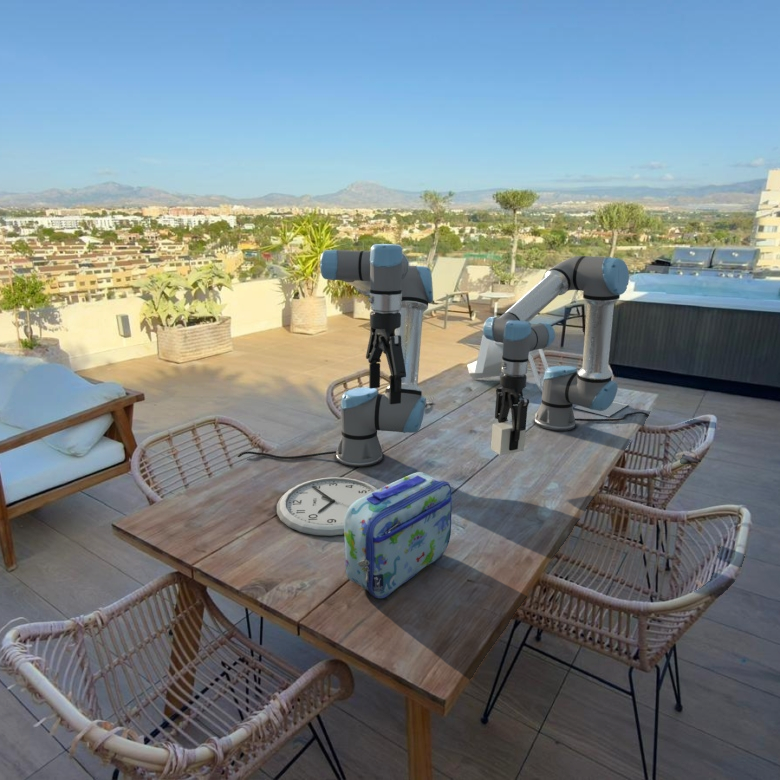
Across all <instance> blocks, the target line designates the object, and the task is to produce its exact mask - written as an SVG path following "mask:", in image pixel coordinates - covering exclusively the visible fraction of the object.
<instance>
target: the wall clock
mask: <svg viewBox="0 0 780 780" xmlns="http://www.w3.org/2000/svg"><path fill="white" fill-rule="evenodd" d="M378 489H379V488H377V487H376V486H374V485H372V484H371V483H369V482H365V481H362V480H359V479H355V478H349V477H338V476H337V477H335V476H333V477H332V476H331V477H322V478H317V479H312V480H307V481H305V482H302V483H299V484H297V485H295V486H293V487H292V488H290V489H288V490H287V491H286V492H285V493H284V494H283V495H281V496H280V498H279V499H278V502H277V503H276V515H277V517H278V518H279V520H280V521H281V522H282V523H283V524H285V525H286V526H287V527H288V528H290V529H293V530H295V531H297V532H299V533H303V534H308V535H312V536H327V537H328V536H329V537H331V536H332V537H333V536H342V535H343V536H344V520H345V516H346V513H347V511H348V509H349V507H350V506H351V505H352V504H353V503H354V502H355V501H356V500H358V499H360V498H362V497H364V496H366V495H368V494H370V493H372V492H374V491H376V490H378Z"/></svg>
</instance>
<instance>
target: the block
mask: <svg viewBox="0 0 780 780" xmlns="http://www.w3.org/2000/svg"><path fill="white" fill-rule="evenodd" d="M516 427H517V426H516ZM491 428H492V429H491V440H490V441H491V442H490V450H492V451H493V452H494V453H496V454H498V455H499V456H503V455H508V454H514V453H520V452H524V450H525V442H526V441H525V440H526V430H527V428H526V429H525V430H522V431H520V437H519V441H518V449H516V450H511V451H510V450H509V443H510V432H511V429H513V428H512V420H510V421H509V420H508V421H506V422H502V423H499V422H497V423H492V427H491Z"/></svg>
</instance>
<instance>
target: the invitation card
mask: <svg viewBox="0 0 780 780" xmlns="http://www.w3.org/2000/svg"><path fill="white" fill-rule="evenodd" d="M628 406H629V404H627V403H623V402H618V401H613V402H612V404H611V405H610V406H609V407H608V408H607V409H606V410H604V411H598V410H591V409H589V408H586V407H582V406H579V405H575V406H574V407H573V409H575V410H581V411H584V412H587V413H593V414H596V415H600V416H604V417H608V418H609V417H611V416H613V415H614V414H616V413H617V412H619V411H621V410H623V409H624V408H626V407H628Z"/></svg>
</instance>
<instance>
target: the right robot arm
mask: <svg viewBox="0 0 780 780" xmlns="http://www.w3.org/2000/svg"><path fill="white" fill-rule="evenodd" d="M629 281H630V271H629V267H628V265H627V263H626V262H625V261H624V260H623V259H622V258H618V257H611V256H588V255H587V256H586V255H576V256H572V257H570V258H567V259H565V260H563V261H561V262H559V263H557V264H556V265H554V266H553V267H551V268H550V269H548V271H546V273H544V275H543V279H542V280H540V281H539V282H538V283H537V284H536V285H535V286H534V287H532V288H531V289H530V290H529V291H527V292H526V294H524V295H523V296H522V297H521V298H520V299H519V300H518V301H516V302H515V303H514V304H513V305H512V306H511V307H510V308H509V309H507V310H506V311H505V312H504V313H503V314H501V315H500V317H498V316H491V317H488V318H487V319H485V321H484V323H483V327H482V333H483V335H484V336H485V337H486V338H487V339H489V340H492V341H495V342H497V343H498V342H501V343H503V356H502V368H501V371H502V374H501V377H499V380H500V381H499V385H500V386H501V387H496V388H495V406H494V407H495V409H494V419H496V420H497V423H502V422H508V421H509V419H508V417H509V413H510V412H511V421H512V428H513V429H511V432H510V443H509V450H510V451H511V450H516V449H518V441H519V437H520V431H522V430H525V429H526V430H527V419H528V418H527V417H528V407H529V404H530V400H529V398H525V397H524V389H525V387H527V374H528V371H529V370H528V369H529V368H528V367H529V359H528V356H529V351H533V350H537V349H546V348H547V347H550V346H552V344H553V343H554V342H555V339H556V332H555V329H554V327H553V326H552V325H550V324H549V323H546V322H538V323H531V321H532V320H533V319H534V318H535V317H537V315H538V314H539V313H541V312H542V311H543V310H544V309H545V308H546V307H547V306H548V305H550V304H551V302H553V301H554V300H555V299H556V298H557V297H558V296H563V295H564V294H566V293H567V292H569V291H581V292H583V293H582V299H583V300H584V301H585V302H586V315H585V326H584V327H585V328H584V338H583V339H584V340H583V353H582V367H581V368H580V369H578V368H577V367H576V366H571V365H555V366H554V365H553V366H550V367H549V368H547V369H546V371H545V370H544V375H543V381H542V382H543V383H542V387H543V391H541V393H542V394H541V402H540V405H539V407H538V410H537V411H535V414H534V424H535V425H536V426H537V427H539V428H542V429H544V430H549V431H556V432H567V431H572V430H574V429H575V428H576V421H577V422H618V421H623V420H625V419H626V418H627V417H628V416H633V415H644V416H646V417H650V414H648V413H647V412H644V411H633V412H628V413H625V414H624V416H622V417H619V418H575V417H576V416H575V413H574V407H573V405H575V406H578V405H579V406H582V407H586V408H589V409H591V410H598V411H604V410H606V409H607V408H608V407H609V406H610V405H611V404H612V402H613V401H614V400H615V399H616V396H617V394H618V383H617V382H616V381H615V380H612V379H613V373H612V372H611V371H610V370H609V360H610V351H611V342H612V341H611V340H612V330H613V319H614V308H615V303H617V301H619V300H620V298H621V296H622V295H623V294H624V293H625V292H626V291H627V289H628V286H629V283H630V282H629ZM614 402H615V401H614ZM516 426H517V427H516Z"/></svg>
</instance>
